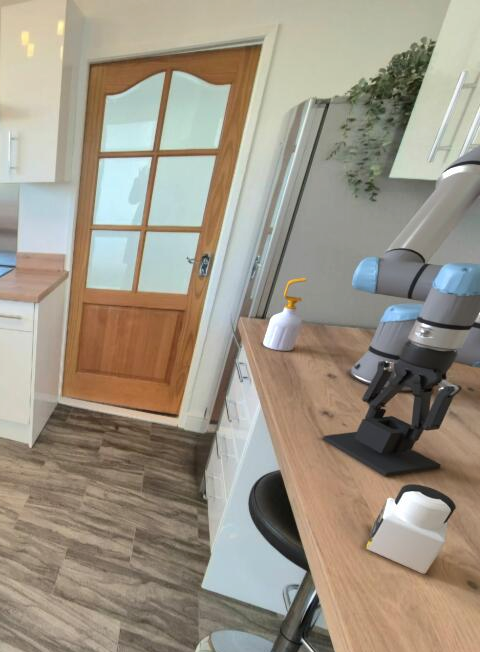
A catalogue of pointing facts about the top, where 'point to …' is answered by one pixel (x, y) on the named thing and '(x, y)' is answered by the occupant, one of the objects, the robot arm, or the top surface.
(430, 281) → the robot arm
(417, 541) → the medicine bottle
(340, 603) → the top surface
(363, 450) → the base pad
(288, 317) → the soap bottle
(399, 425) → the socket block
